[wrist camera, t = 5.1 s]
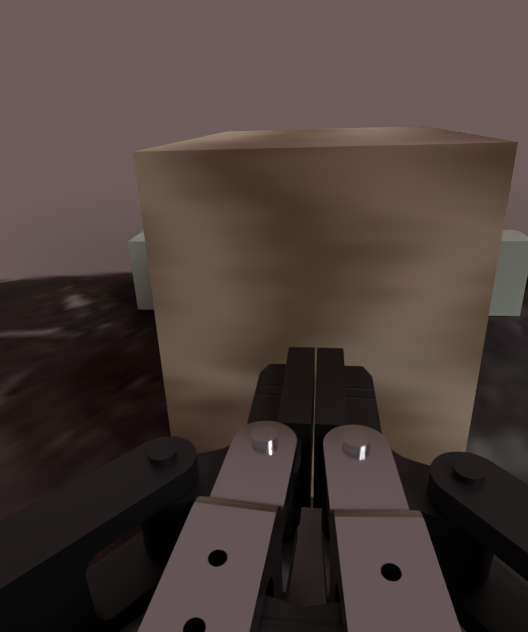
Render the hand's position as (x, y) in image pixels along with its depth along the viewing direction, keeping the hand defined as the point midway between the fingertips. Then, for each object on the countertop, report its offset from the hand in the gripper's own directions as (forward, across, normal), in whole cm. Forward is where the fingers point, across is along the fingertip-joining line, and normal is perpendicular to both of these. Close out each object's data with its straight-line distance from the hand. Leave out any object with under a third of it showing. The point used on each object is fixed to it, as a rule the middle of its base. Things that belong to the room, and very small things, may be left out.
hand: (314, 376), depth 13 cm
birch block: (+8, 0, +6) cm, 10 cm away
